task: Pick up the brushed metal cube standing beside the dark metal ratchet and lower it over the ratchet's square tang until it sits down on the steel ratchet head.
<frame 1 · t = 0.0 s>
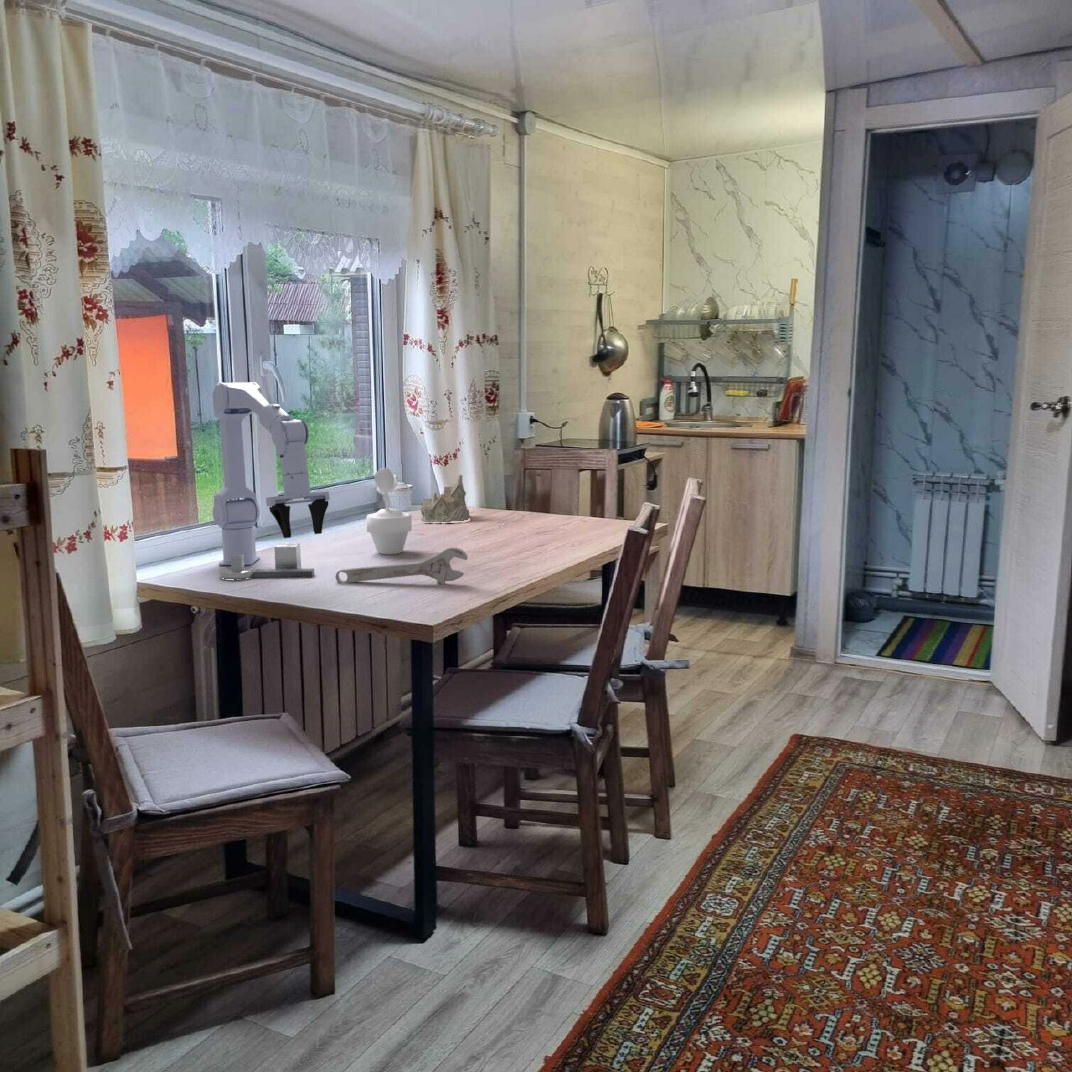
hand: (303, 535, 224), 11 cm above the table, tool pointing down, fingers open, 7 cm apart
wrench: (401, 584, 225), on the table
ratchet: (238, 577, 232), on the table
potted plant: (391, 552, 262), on the table
brushed metal cube: (288, 570, 239), on the table
ceramic cottage: (446, 521, 316), on the table
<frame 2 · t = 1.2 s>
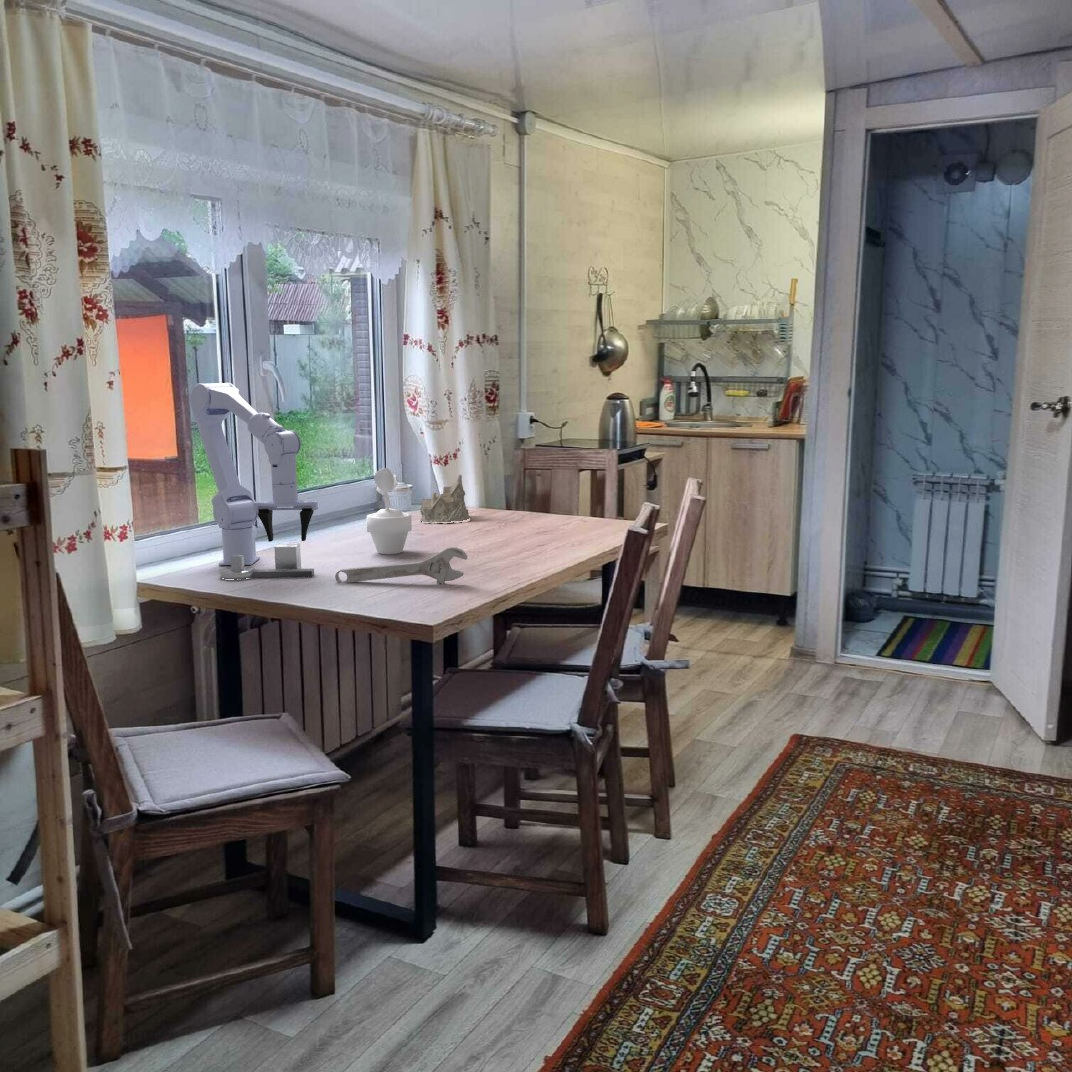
hand: (287, 540, 238), 7 cm above the table, tool pointing down, fingers open, 7 cm apart
nothing on the table moved.
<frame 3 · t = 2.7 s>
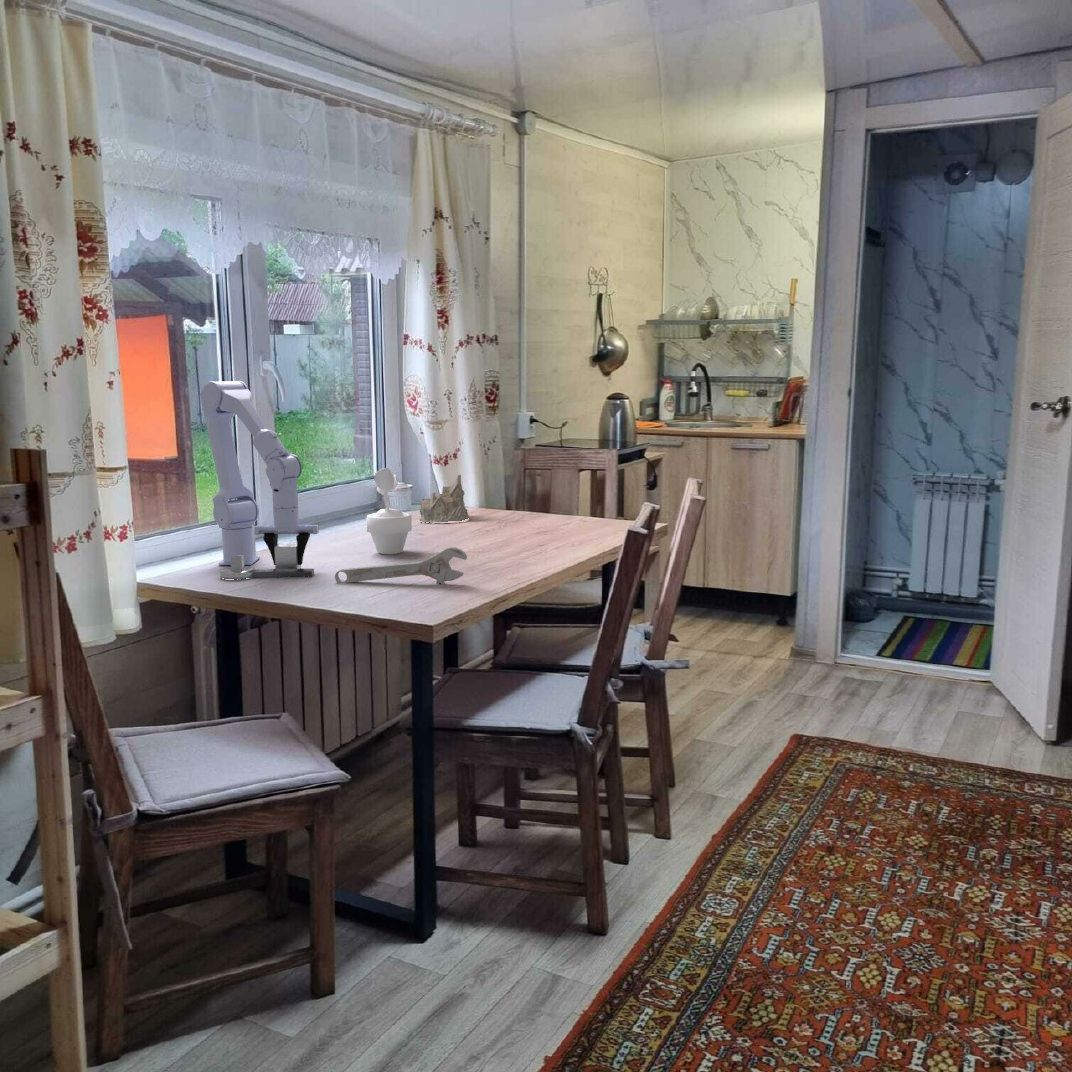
hand: (288, 564, 239), 1 cm above the table, tool pointing down, fingers closed on brushed metal cube, 5 cm apart
brushed metal cube: (288, 570, 239), on the table, touching gripper
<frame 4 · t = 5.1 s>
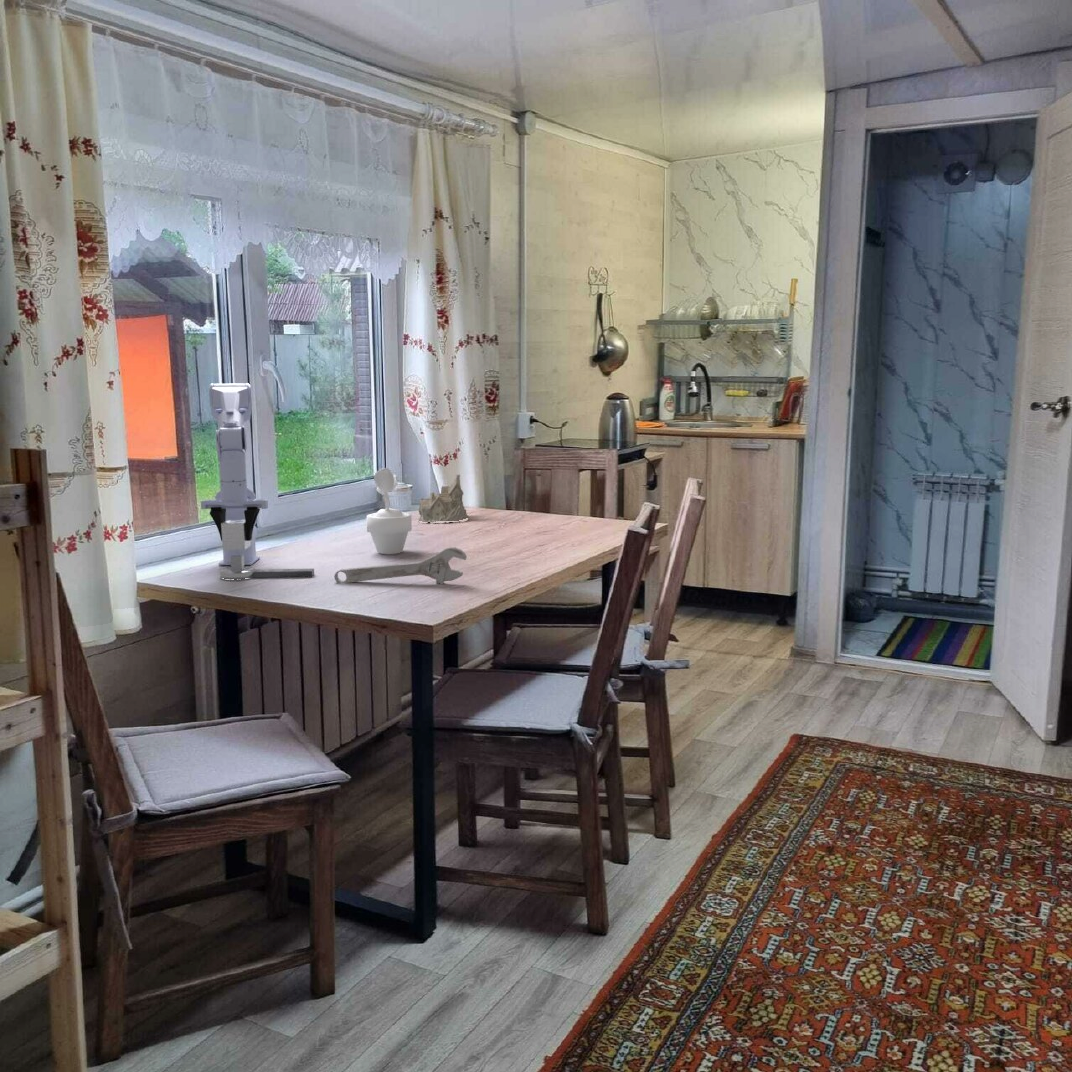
hand: (236, 540, 230), 8 cm above the table, tool pointing down, fingers closed on brushed metal cube, 5 cm apart
brushed metal cube: (236, 547, 231), point 7 cm above the table, touching gripper
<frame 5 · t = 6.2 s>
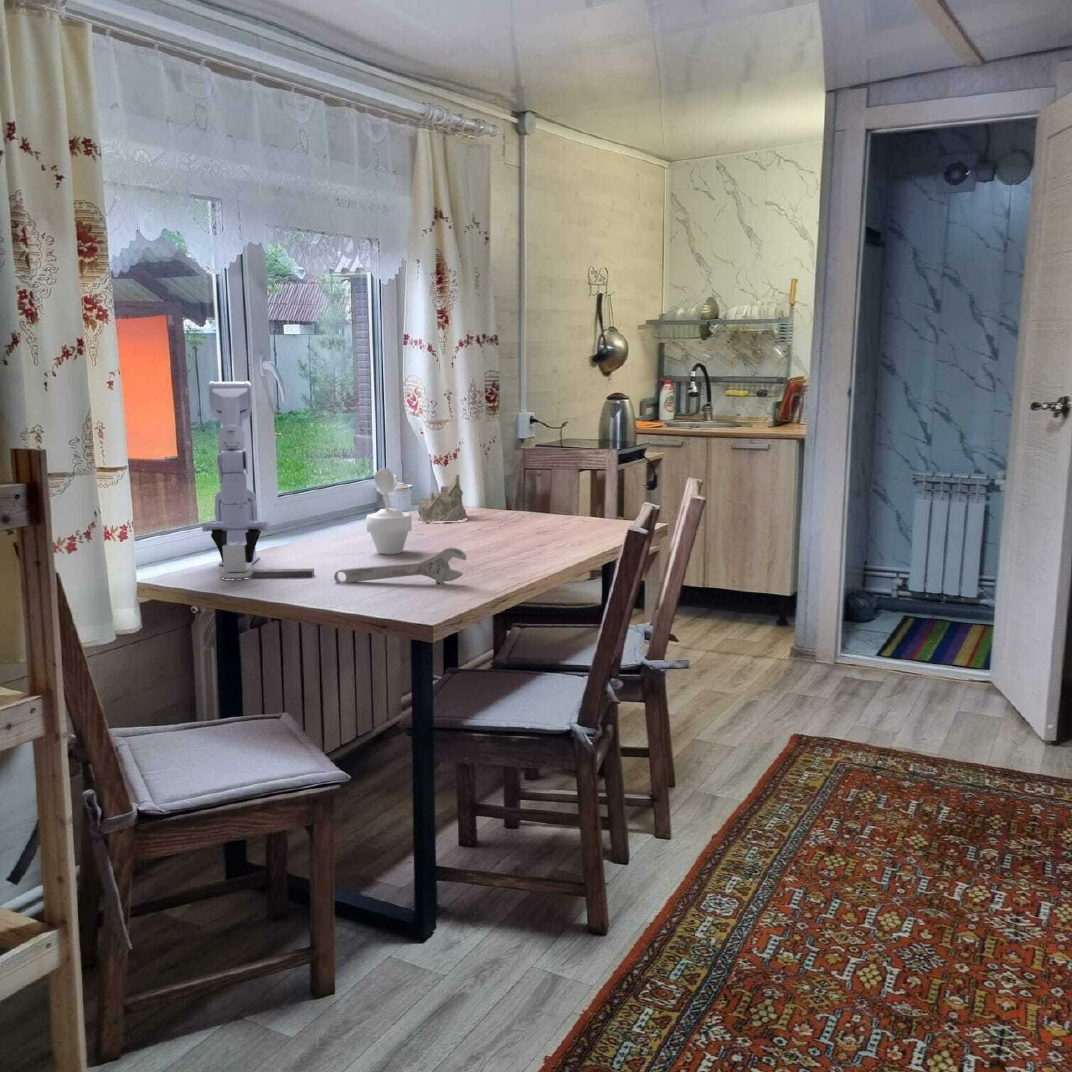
hand: (237, 562, 231), 3 cm above the table, tool pointing down, fingers closed on brushed metal cube, 5 cm apart
brushed metal cube: (238, 569, 231), point 2 cm above the table, touching gripper
when the fingers open (3 cm above the table, at t = 7.4 s): brushed metal cube stays where it is, resting on ratchet.
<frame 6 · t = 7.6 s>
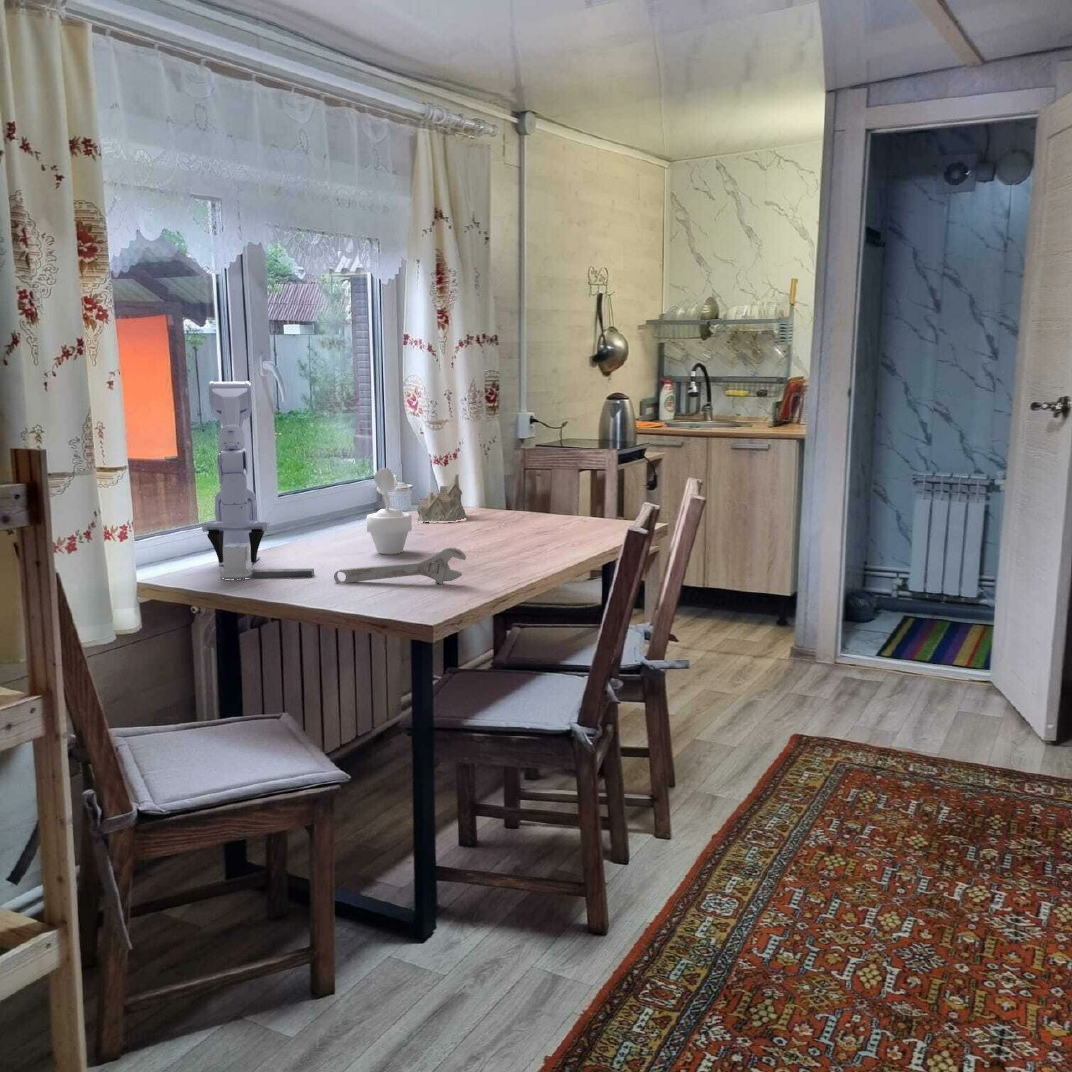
hand: (237, 562, 231), 3 cm above the table, tool pointing down, fingers open, 7 cm apart
ratchet: (238, 577, 232), on the table, touching brushed metal cube
brushed metal cube: (238, 570, 231), point 1 cm above the table, touching ratchet
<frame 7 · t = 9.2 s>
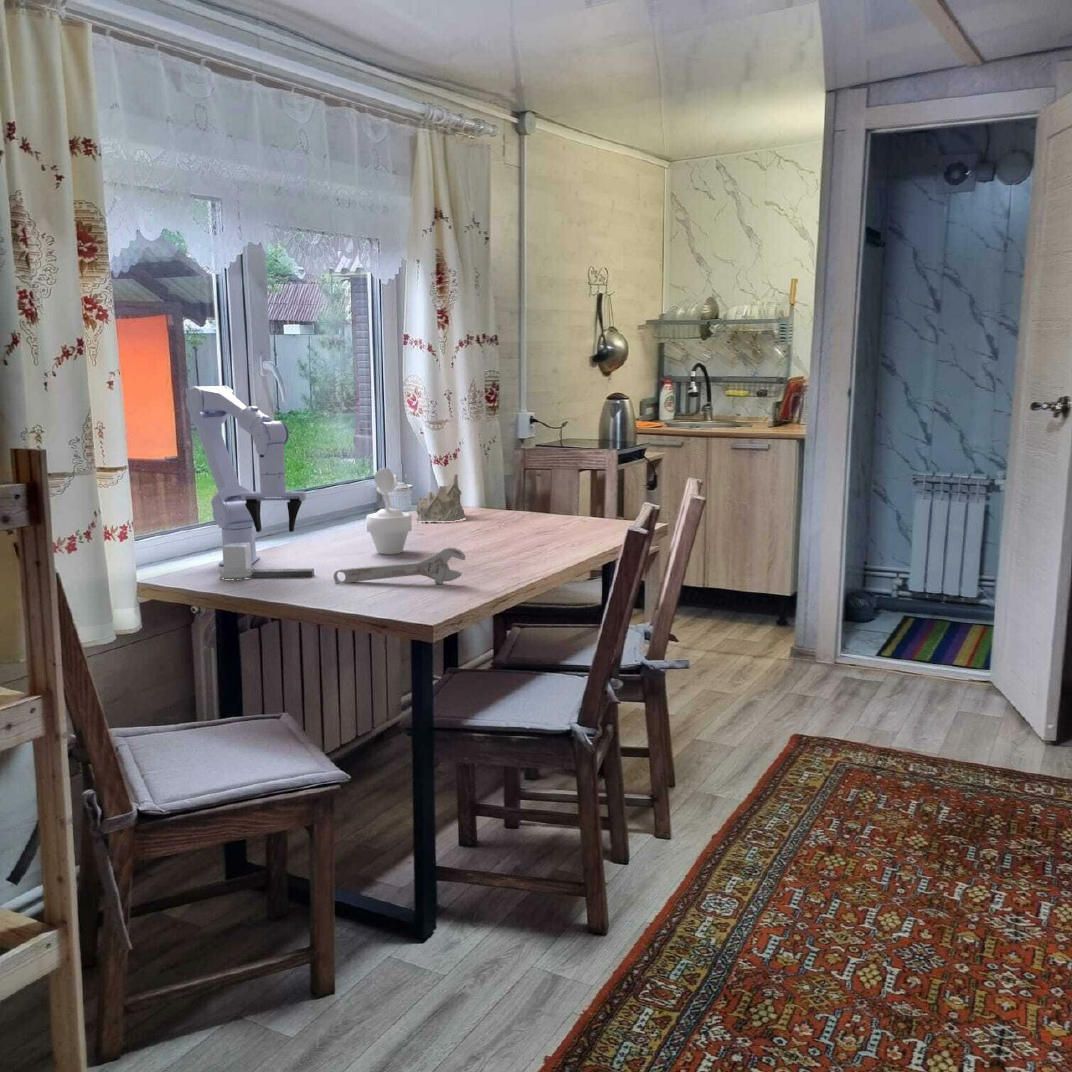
hand: (275, 531, 237), 9 cm above the table, tool pointing down, fingers open, 7 cm apart
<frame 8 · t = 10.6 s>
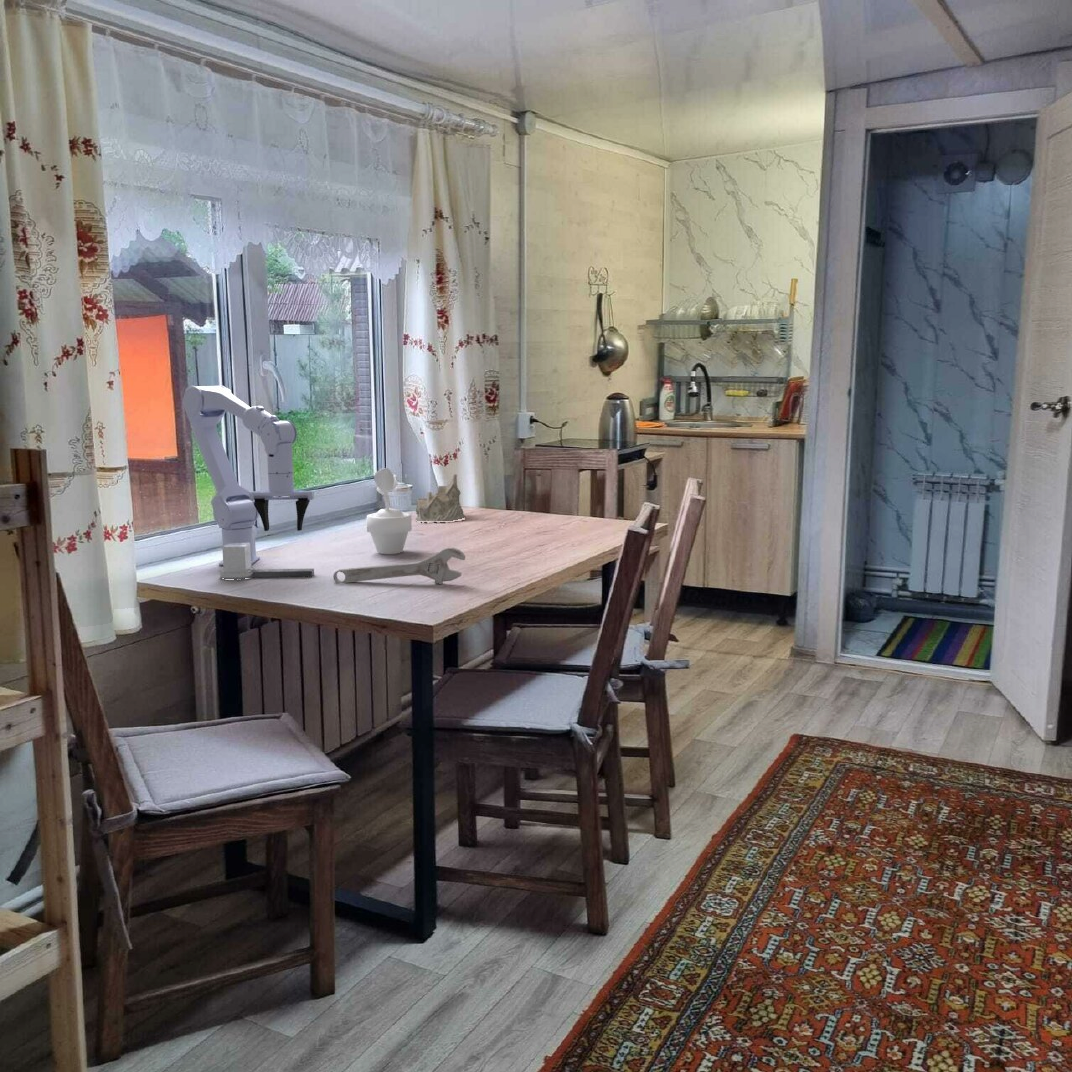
hand: (283, 530, 238), 9 cm above the table, tool pointing down, fingers open, 7 cm apart
at the end: brushed metal cube 0.1 cm off-centre on the ratchet, point 1.5 cm above the ratchet's base; brushed metal cube tilted 0°; the gripper is holding nothing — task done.
